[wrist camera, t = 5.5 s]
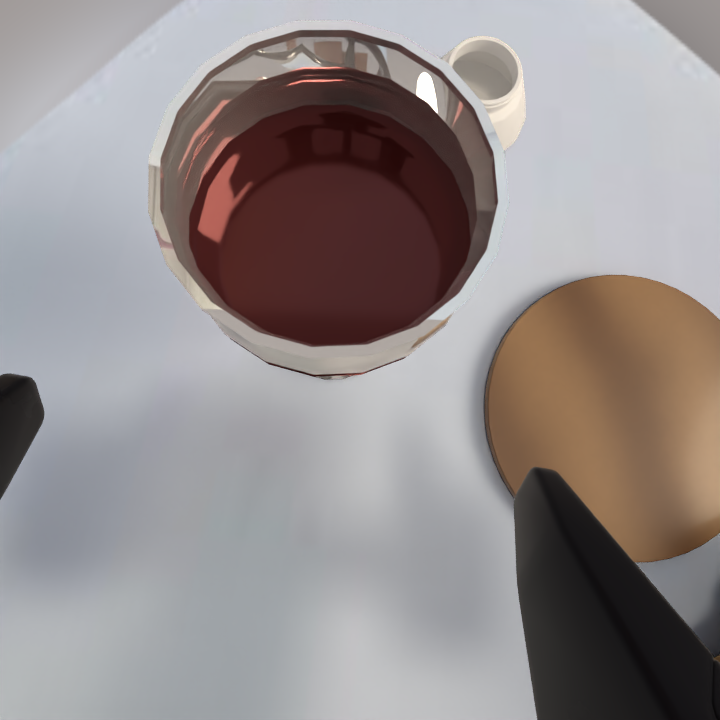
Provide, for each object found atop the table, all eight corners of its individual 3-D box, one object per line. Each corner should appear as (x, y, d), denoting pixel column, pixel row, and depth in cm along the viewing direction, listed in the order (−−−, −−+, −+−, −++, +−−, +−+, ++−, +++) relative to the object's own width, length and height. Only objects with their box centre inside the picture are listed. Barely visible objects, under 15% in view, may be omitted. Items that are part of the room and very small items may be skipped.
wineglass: (435, 284, 21) (564, 103, 10) (372, 427, 20) (428, 426, 8) (293, 220, 21) (245, -39, 10) (224, 360, 20) (73, 265, 9)
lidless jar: (465, 188, 22) (540, 120, 23) (485, 151, 19) (571, 75, 20) (388, 110, 22) (465, 46, 23) (397, 63, 19) (485, -9, 20)
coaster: (574, 614, 20) (580, 619, 19) (434, 351, 21) (436, 349, 20) (808, 474, 21) (819, 475, 21) (664, 234, 22) (671, 230, 22)
